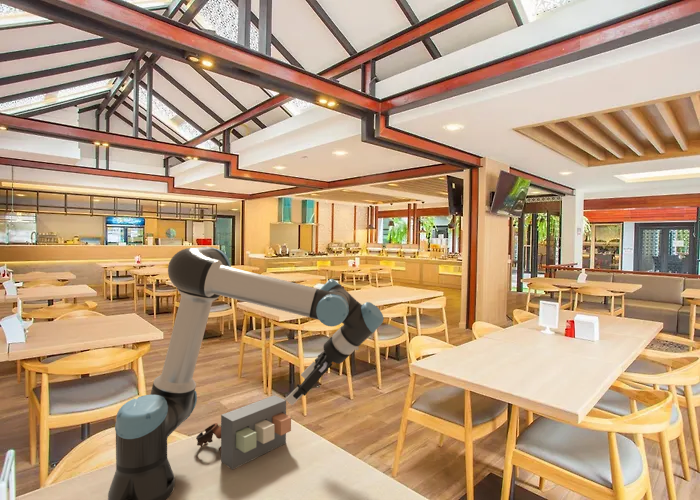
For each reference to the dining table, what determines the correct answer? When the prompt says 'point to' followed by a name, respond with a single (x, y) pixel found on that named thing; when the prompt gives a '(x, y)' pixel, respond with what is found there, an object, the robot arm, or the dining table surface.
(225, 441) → the console
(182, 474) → the dining table surface
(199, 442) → the pottery mug
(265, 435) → the ivory button
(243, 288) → the robot arm
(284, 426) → the terracotta button
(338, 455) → the dining table surface
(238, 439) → the sage button
